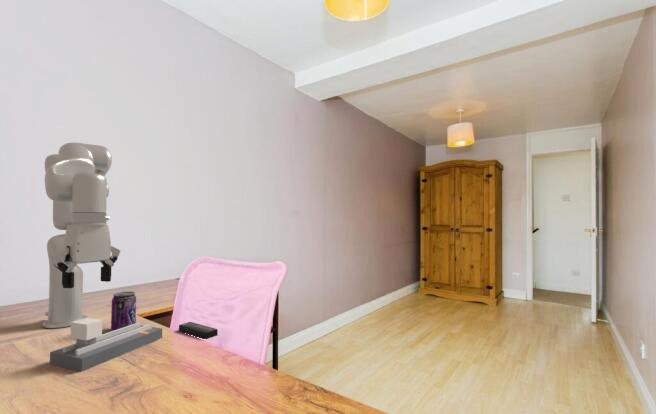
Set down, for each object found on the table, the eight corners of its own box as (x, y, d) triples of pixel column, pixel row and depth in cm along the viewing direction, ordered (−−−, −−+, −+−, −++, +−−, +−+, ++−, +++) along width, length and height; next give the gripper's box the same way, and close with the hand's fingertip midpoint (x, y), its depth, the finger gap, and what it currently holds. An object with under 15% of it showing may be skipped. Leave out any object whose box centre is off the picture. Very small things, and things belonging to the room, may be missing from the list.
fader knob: (70, 348, 87) (71, 322, 87) (86, 343, 91) (86, 317, 91) (86, 352, 85) (86, 324, 85) (101, 346, 89) (102, 320, 89)
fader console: (49, 364, 85) (50, 347, 85) (133, 333, 108) (133, 320, 108) (81, 371, 81) (82, 353, 81) (162, 338, 104) (162, 324, 104)
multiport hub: (206, 340, 103) (206, 332, 103) (178, 332, 111) (178, 324, 111) (218, 336, 106) (218, 329, 106) (190, 328, 114) (190, 321, 114)
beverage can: (124, 333, 108) (124, 296, 108) (105, 332, 109) (106, 295, 110) (140, 326, 115) (141, 291, 115) (123, 325, 116) (123, 290, 117)
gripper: (110, 220, 99) (109, 278, 98) (43, 219, 82) (41, 290, 82) (128, 219, 96) (127, 279, 95) (63, 219, 80) (61, 291, 79)
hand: (87, 284), depth 89 cm, fingers open, 9 cm apart
